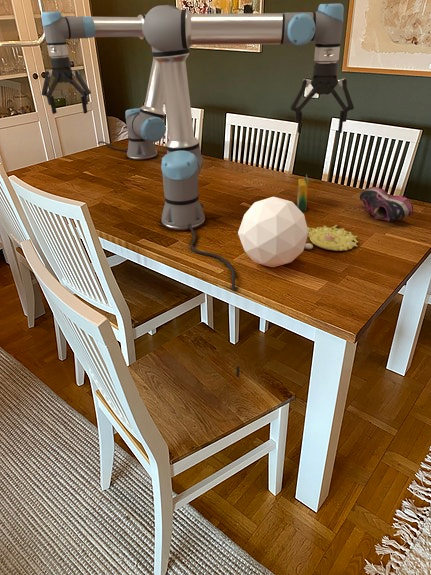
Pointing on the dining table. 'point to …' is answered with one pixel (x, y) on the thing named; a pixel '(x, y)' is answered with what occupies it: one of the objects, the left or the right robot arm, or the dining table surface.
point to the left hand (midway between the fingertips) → (70, 113)
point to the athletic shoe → (385, 204)
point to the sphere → (273, 232)
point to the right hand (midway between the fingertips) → (319, 132)
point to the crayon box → (302, 193)
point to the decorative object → (331, 238)
